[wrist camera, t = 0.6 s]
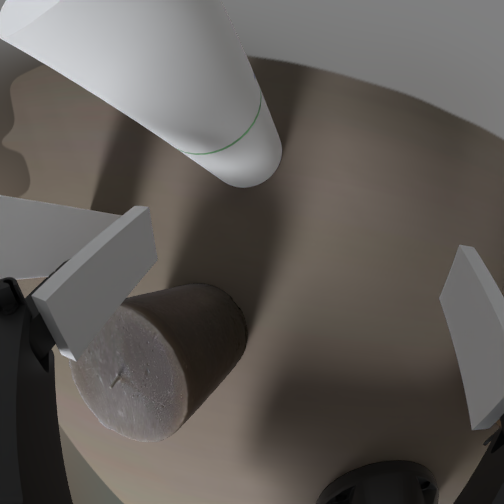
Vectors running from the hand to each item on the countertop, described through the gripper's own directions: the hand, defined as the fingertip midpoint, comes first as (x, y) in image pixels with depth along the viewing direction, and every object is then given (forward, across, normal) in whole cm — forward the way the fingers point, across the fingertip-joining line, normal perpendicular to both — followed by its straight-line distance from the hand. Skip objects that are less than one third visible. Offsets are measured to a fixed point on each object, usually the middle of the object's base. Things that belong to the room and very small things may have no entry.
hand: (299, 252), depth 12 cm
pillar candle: (+9, +10, +16) cm, 21 cm away
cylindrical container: (+18, +7, +1) cm, 20 cm away
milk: (+13, +22, +10) cm, 28 cm away
